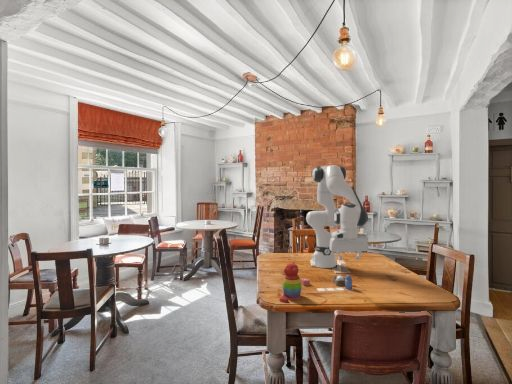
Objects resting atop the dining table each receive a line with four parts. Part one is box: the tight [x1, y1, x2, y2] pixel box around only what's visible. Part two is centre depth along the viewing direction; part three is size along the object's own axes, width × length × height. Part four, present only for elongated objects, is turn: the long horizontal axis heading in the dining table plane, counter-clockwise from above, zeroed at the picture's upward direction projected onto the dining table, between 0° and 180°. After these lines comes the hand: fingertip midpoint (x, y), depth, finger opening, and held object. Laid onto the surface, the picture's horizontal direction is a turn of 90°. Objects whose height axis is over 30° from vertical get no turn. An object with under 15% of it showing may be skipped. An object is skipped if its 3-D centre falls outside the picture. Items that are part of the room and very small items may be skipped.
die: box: [300, 277, 311, 287], centre depth 165 cm, size 4×4×4 cm
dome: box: [336, 275, 344, 280], centre depth 166 cm, size 4×4×4 cm
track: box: [315, 287, 354, 292], centre depth 157 cm, size 8×22×1 cm, turn 94°
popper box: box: [331, 276, 346, 287], centre depth 166 cm, size 7×7×4 cm
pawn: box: [344, 274, 353, 291], centre depth 157 cm, size 4×4×7 cm
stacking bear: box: [279, 262, 303, 303], centre depth 147 cm, size 11×10×18 cm
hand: (348, 259), depth 157 cm, fingers open, 8 cm apart
